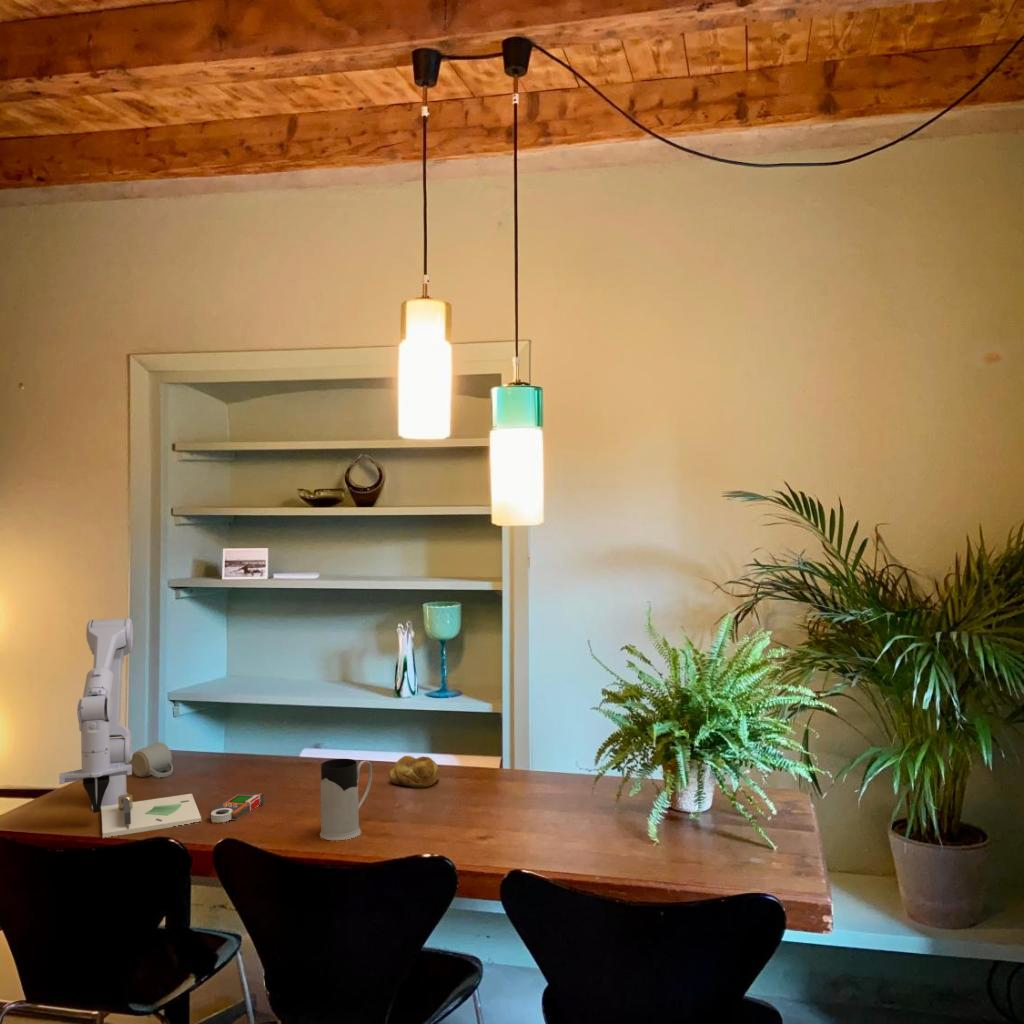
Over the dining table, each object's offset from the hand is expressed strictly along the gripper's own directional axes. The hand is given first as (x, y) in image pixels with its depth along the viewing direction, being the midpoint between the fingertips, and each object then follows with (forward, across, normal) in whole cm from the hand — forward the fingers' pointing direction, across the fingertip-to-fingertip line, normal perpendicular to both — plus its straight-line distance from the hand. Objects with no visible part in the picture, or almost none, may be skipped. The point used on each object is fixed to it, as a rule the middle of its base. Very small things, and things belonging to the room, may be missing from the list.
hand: (96, 811), depth 198 cm
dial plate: (+3, +11, +1) cm, 12 cm away
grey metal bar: (+2, +6, 0) cm, 6 cm away
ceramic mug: (+3, +14, +38) cm, 40 cm away
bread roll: (+4, +72, -5) cm, 73 cm away
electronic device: (+4, +29, -6) cm, 30 cm away
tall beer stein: (+4, +49, -30) cm, 58 cm away
